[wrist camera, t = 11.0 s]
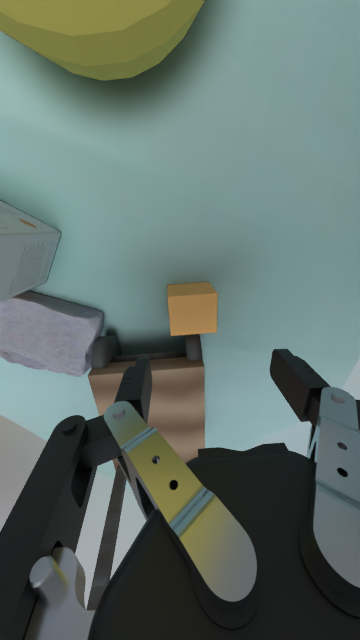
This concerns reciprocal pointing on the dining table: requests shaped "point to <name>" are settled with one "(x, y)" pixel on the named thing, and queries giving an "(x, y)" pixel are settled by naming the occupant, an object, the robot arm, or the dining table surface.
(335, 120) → the dining table surface
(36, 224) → the small box
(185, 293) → the block
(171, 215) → the dining table surface
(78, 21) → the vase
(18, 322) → the stone block
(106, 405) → the trolley
